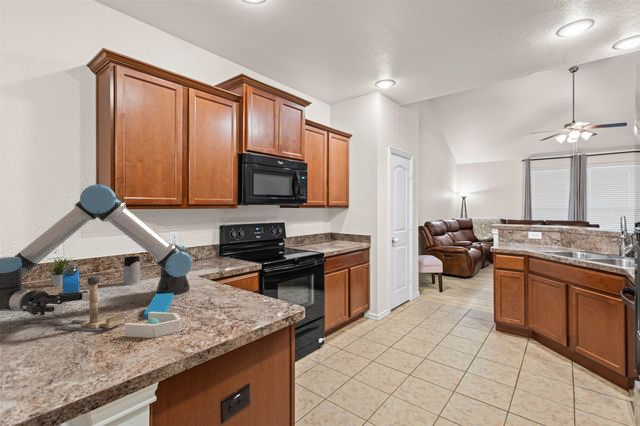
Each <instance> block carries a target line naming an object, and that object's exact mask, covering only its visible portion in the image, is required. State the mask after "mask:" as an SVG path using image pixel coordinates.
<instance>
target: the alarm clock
mask: <svg viewBox="0 0 640 426" xmlns="http://www.w3.org/2000/svg"><path fill="white" fill-rule="evenodd" d="M80 281H81V280H80V268H79V267H78V266H77V265H76V264H70V265H66V268H65V270H63V285H62V293H73V292H80V286H81V285H80Z"/></svg>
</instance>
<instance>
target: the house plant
mask: <svg viewBox="0 0 640 426" xmlns="http://www.w3.org/2000/svg"><path fill="white" fill-rule="evenodd" d="M74 258H76V257H74ZM72 259H73V257H72V258H71V257H70V258H68V259H67V257H65V258H64V259H63V258H61V259H60V257H59V256H57V258H56V259H55V258H54V259H53V261H54V265H53V264H52V263H51V262H48V261H46V260H44V262H45V263H48V264H49V265H50V266H51V267H49V266H47V268H48V269H46V271H48V272H51V273H52V274H50V278H51V282H52V286H53V287H61V285H62V286H63V270H65V268H66V267H67V265H68V264H69V263H70V262H72V261H74V260H72Z"/></svg>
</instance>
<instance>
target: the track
mask: <svg viewBox="0 0 640 426" xmlns="http://www.w3.org/2000/svg"><path fill="white" fill-rule="evenodd" d="M87 321H88V320H84V319H82V320H81V319H72V320H71V323H72V324H82V323H84V322H87ZM54 329H55V330H56V331H57V330H58V331H59V330H61V331H62V330H63V331H81V332H99V333H100V332H104V327H100V328H83V327H81V326H80V327H79V326H61V325H60V326H58V325H57V326H55V327H54Z"/></svg>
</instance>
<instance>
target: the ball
mask: <svg viewBox="0 0 640 426" xmlns="http://www.w3.org/2000/svg"><path fill="white" fill-rule="evenodd" d="M158 323H159V320H158V319H156V318H151V319H149V320H148V319H147V321H146V323H145V324H158Z"/></svg>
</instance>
